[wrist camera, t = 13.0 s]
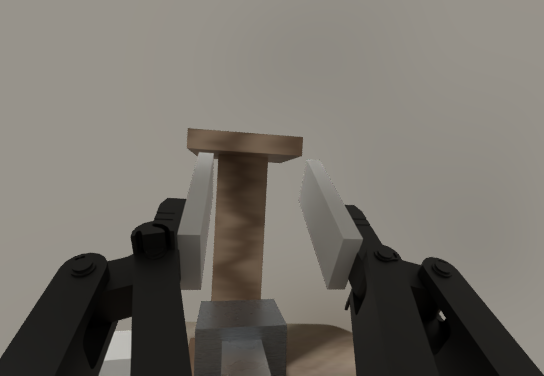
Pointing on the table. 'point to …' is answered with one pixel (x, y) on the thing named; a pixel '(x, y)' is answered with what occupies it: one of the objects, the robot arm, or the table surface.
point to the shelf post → (240, 207)
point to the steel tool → (240, 339)
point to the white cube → (118, 355)
